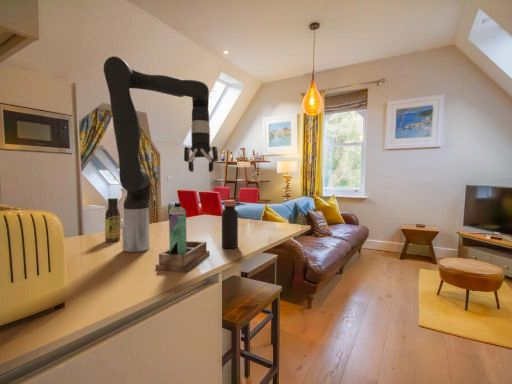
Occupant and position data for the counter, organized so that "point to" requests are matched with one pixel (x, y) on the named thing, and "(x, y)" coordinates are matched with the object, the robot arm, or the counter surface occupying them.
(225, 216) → the vinegar
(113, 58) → the robot arm
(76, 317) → the counter surface
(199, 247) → the rack
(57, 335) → the counter surface
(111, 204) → the sauce bottle
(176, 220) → the spray can
